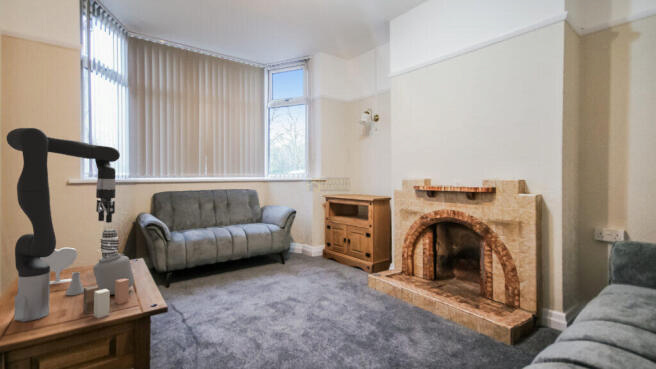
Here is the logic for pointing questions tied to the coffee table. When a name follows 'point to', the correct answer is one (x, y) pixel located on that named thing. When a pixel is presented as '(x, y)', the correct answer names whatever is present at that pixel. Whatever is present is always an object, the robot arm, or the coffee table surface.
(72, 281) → the flask
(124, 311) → the coffee table surface
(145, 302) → the coffee table surface
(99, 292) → the cream pillar
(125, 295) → the terracotta pillar
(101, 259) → the jar
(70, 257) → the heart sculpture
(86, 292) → the walnut pillar
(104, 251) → the decorative candle
